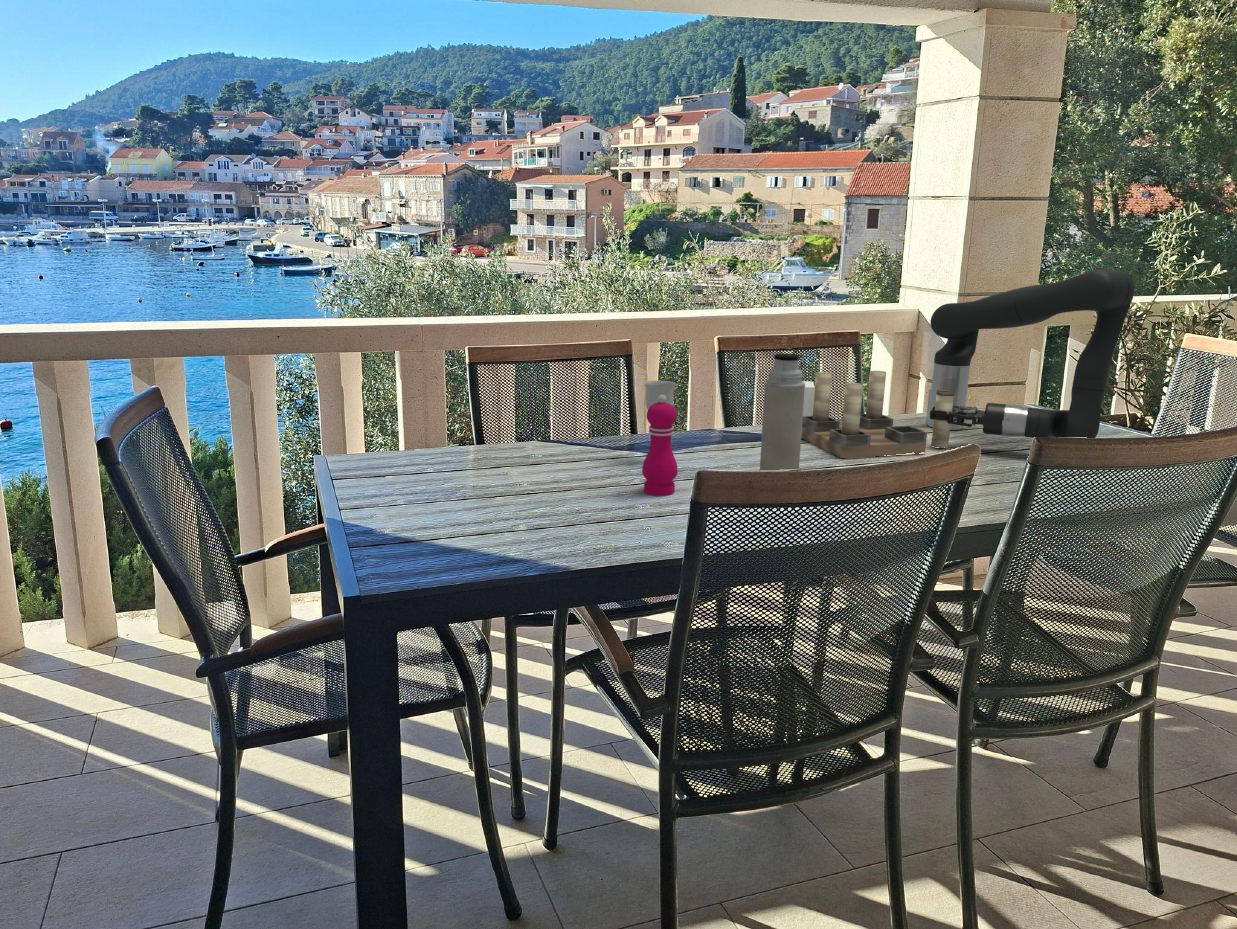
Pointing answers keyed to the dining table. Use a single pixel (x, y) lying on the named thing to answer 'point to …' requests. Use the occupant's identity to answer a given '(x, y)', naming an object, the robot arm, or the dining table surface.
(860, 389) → the stool seat
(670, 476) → the pepper mill
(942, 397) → the loose leg
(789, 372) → the thermos bottle
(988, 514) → the dining table surface
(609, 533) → the dining table surface
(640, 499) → the dining table surface
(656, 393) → the chalice
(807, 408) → the base with upright slab
